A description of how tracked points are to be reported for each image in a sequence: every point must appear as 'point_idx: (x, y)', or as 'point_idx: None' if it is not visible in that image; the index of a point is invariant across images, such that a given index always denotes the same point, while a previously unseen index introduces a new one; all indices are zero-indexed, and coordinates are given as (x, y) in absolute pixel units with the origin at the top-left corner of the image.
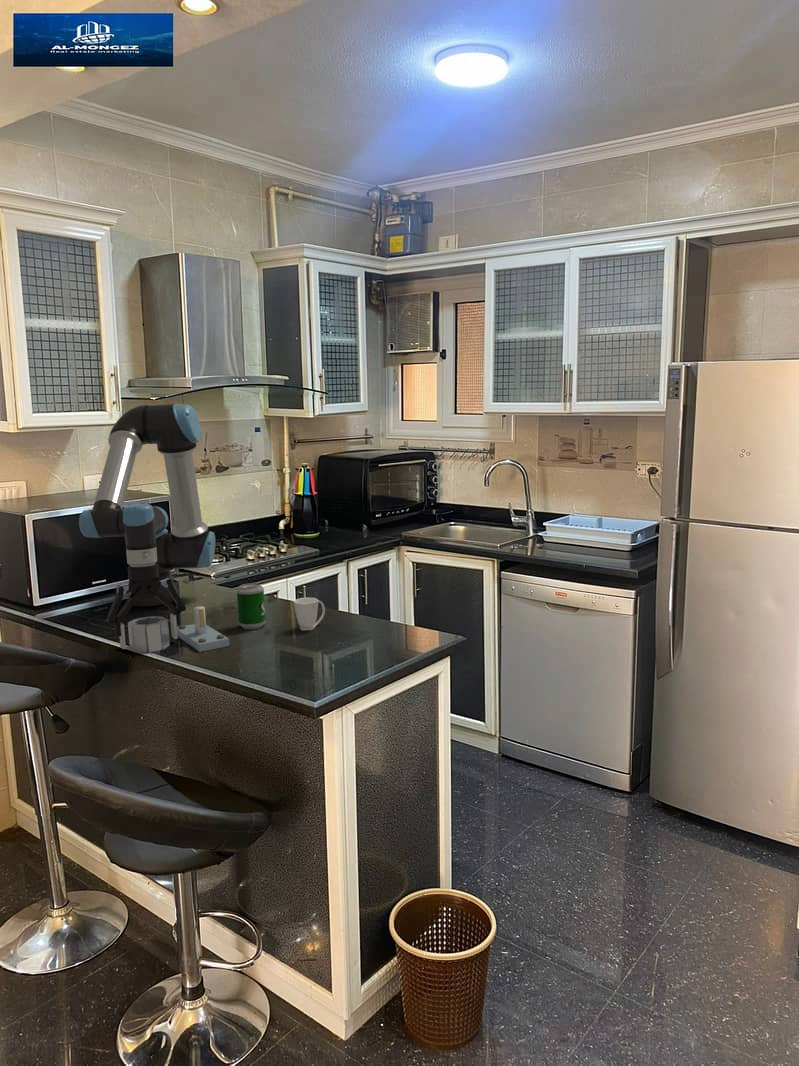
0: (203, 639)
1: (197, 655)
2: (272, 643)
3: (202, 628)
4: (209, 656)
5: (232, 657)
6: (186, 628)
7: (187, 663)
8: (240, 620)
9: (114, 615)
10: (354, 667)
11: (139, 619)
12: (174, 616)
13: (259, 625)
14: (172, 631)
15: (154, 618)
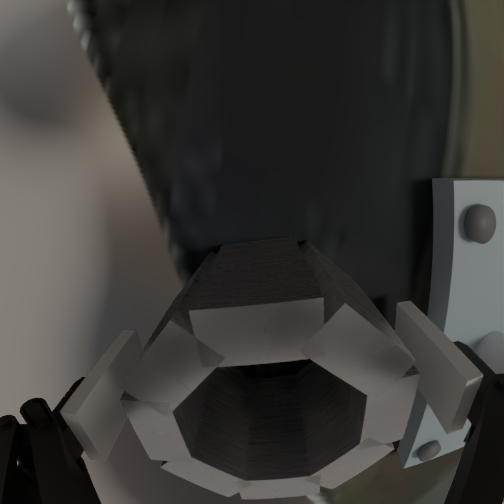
0: (432, 454)
1: (375, 468)
2: None
3: None
4: (392, 478)
5: (421, 486)
6: (487, 243)
7: (324, 500)
8: None
9: (39, 493)
10: None
11: (215, 357)
12: (451, 428)
13: None
14: (409, 337)
15: (347, 381)
